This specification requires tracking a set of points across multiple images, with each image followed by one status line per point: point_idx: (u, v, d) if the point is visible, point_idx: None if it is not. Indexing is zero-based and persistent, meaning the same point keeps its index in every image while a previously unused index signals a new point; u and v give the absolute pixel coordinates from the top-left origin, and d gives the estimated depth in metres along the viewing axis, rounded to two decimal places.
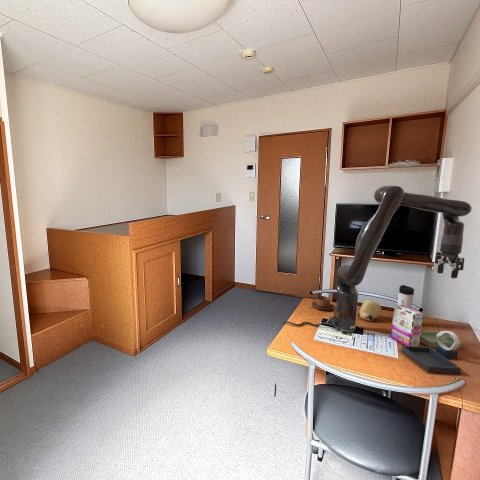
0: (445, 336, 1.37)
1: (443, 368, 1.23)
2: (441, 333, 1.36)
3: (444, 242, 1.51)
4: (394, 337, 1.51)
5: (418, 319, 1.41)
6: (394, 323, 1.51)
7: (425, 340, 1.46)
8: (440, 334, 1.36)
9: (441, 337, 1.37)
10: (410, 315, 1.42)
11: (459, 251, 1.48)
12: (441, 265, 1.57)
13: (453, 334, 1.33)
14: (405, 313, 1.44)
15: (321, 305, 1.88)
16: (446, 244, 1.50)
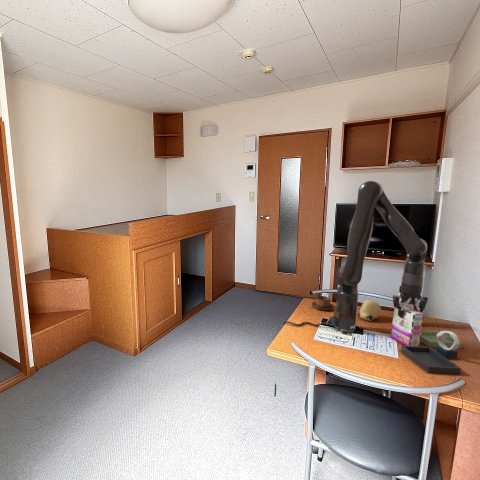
0: (445, 336, 1.37)
1: (443, 368, 1.23)
2: (441, 333, 1.36)
3: None
4: (394, 337, 1.51)
5: (418, 319, 1.41)
6: (394, 323, 1.51)
7: (425, 340, 1.46)
8: (440, 334, 1.36)
9: (441, 337, 1.37)
10: (410, 315, 1.42)
11: (404, 290, 1.43)
12: (415, 309, 1.45)
13: (453, 334, 1.33)
14: (405, 313, 1.44)
15: (321, 305, 1.88)
16: None
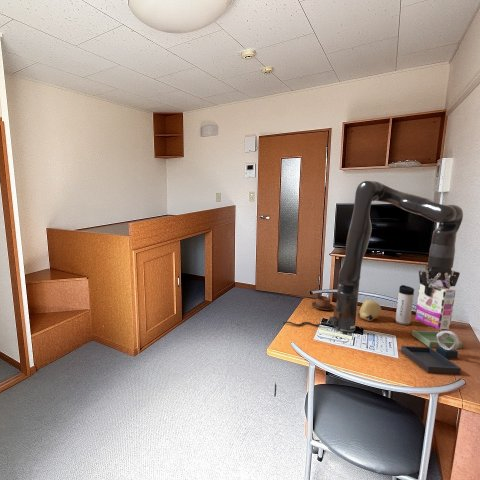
0: (445, 336, 1.37)
1: (443, 368, 1.23)
2: (441, 333, 1.36)
3: None
4: (419, 319, 1.33)
5: (449, 296, 1.23)
6: (419, 303, 1.33)
7: (425, 340, 1.46)
8: (440, 334, 1.36)
9: (441, 337, 1.37)
10: (440, 292, 1.24)
11: (433, 264, 1.25)
12: (444, 286, 1.27)
13: (453, 334, 1.33)
14: (434, 291, 1.26)
15: (321, 305, 1.88)
16: None
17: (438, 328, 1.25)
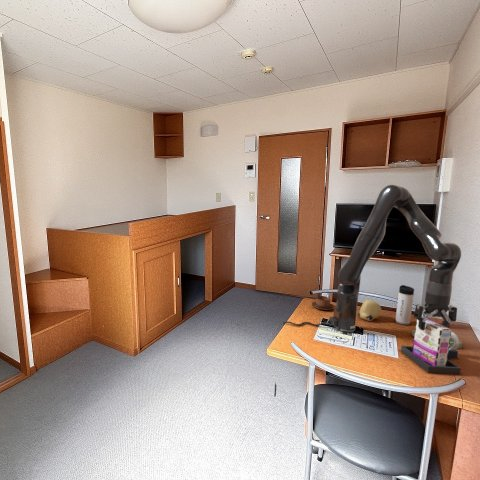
0: None
1: (443, 368, 1.23)
2: None
3: None
4: (416, 354, 1.34)
5: (446, 335, 1.24)
6: (416, 338, 1.34)
7: None
8: None
9: None
10: (437, 330, 1.25)
11: (430, 301, 1.26)
12: (445, 321, 1.28)
13: (453, 334, 1.33)
14: (430, 328, 1.28)
15: (321, 305, 1.88)
16: None
17: (434, 365, 1.26)
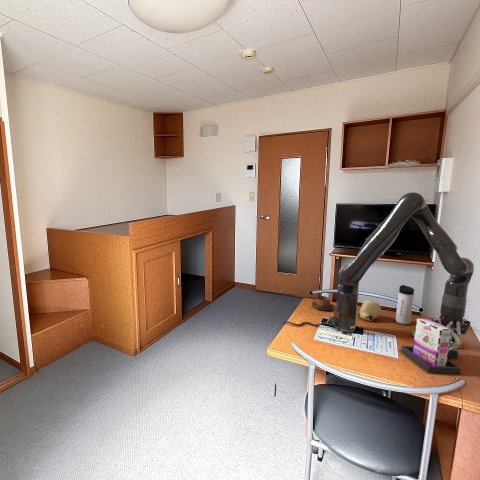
0: None
1: (443, 368, 1.23)
2: None
3: None
4: (416, 354, 1.34)
5: (446, 335, 1.24)
6: (416, 338, 1.34)
7: None
8: None
9: None
10: (437, 330, 1.25)
11: (445, 313, 1.32)
12: None
13: (454, 334, 1.33)
14: (430, 328, 1.28)
15: (321, 305, 1.88)
16: None
17: (434, 365, 1.26)
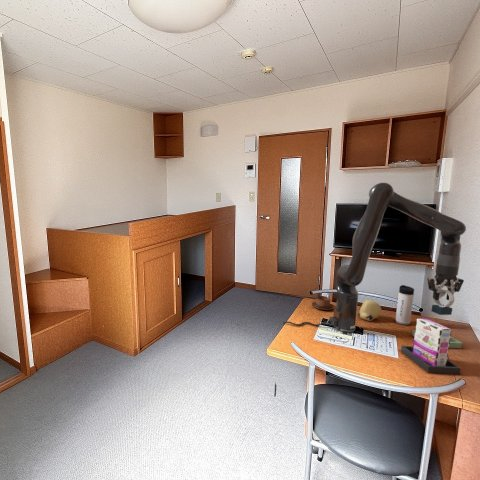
0: (441, 295, 1.46)
1: (443, 368, 1.23)
2: None
3: None
4: (416, 354, 1.34)
5: (446, 335, 1.24)
6: (416, 338, 1.34)
7: None
8: None
9: None
10: (437, 330, 1.25)
11: (440, 272, 1.41)
12: None
13: (448, 292, 1.42)
14: (430, 328, 1.28)
15: (321, 305, 1.88)
16: None
17: (434, 365, 1.26)
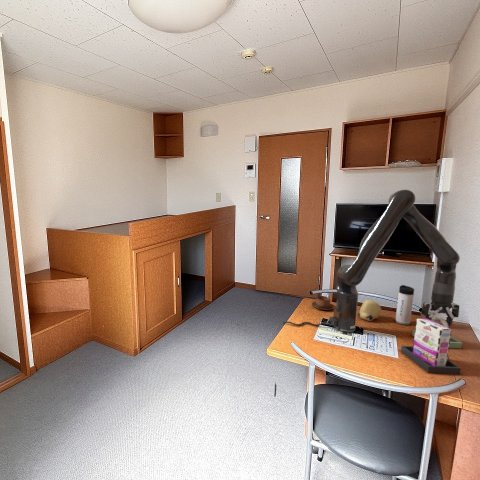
0: None
1: (443, 368, 1.23)
2: (432, 319, 1.48)
3: None
4: (416, 354, 1.34)
5: (446, 335, 1.24)
6: (416, 338, 1.34)
7: None
8: None
9: None
10: (437, 330, 1.25)
11: (435, 299, 1.44)
12: (448, 317, 1.46)
13: (443, 320, 1.45)
14: (430, 328, 1.28)
15: (321, 305, 1.88)
16: None
17: (434, 365, 1.26)
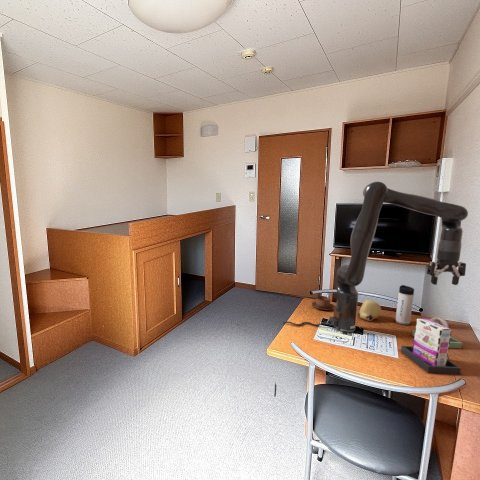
0: None
1: (443, 368, 1.23)
2: (432, 319, 1.48)
3: None
4: (416, 354, 1.34)
5: (446, 335, 1.24)
6: (416, 338, 1.34)
7: None
8: (431, 320, 1.49)
9: None
10: (437, 330, 1.25)
11: (441, 257, 1.41)
12: (455, 276, 1.43)
13: (443, 320, 1.45)
14: (430, 328, 1.28)
15: (321, 305, 1.88)
16: None
17: (434, 365, 1.26)
